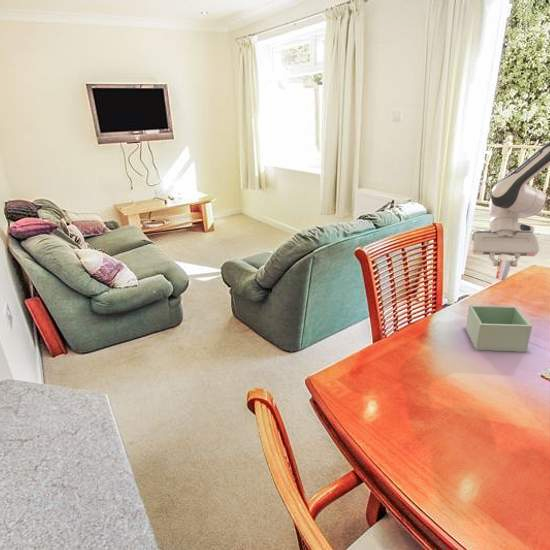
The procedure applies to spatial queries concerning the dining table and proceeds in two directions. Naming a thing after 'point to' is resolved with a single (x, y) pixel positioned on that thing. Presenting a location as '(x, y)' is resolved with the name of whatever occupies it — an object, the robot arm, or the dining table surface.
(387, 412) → the dining table surface
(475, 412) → the dining table surface
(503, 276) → the milkshake
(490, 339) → the sage green open box
